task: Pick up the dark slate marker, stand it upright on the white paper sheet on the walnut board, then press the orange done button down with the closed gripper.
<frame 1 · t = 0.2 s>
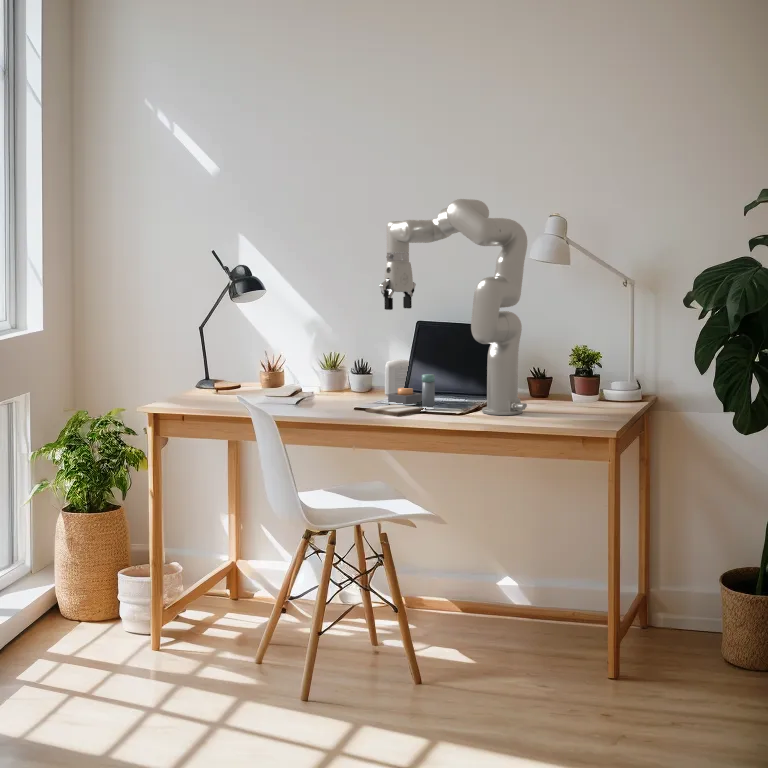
hand: (398, 308, 337), 31 cm above the table, tool pointing down, fingers open, 9 cm apart
marker: (428, 408, 319), on the table
photo printer: (398, 394, 353), on the table
button housing: (405, 404, 329), on the table
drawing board: (395, 411, 314), on the table
done button: (405, 392, 328), point 4 cm above the table, slide at 0.0 cm
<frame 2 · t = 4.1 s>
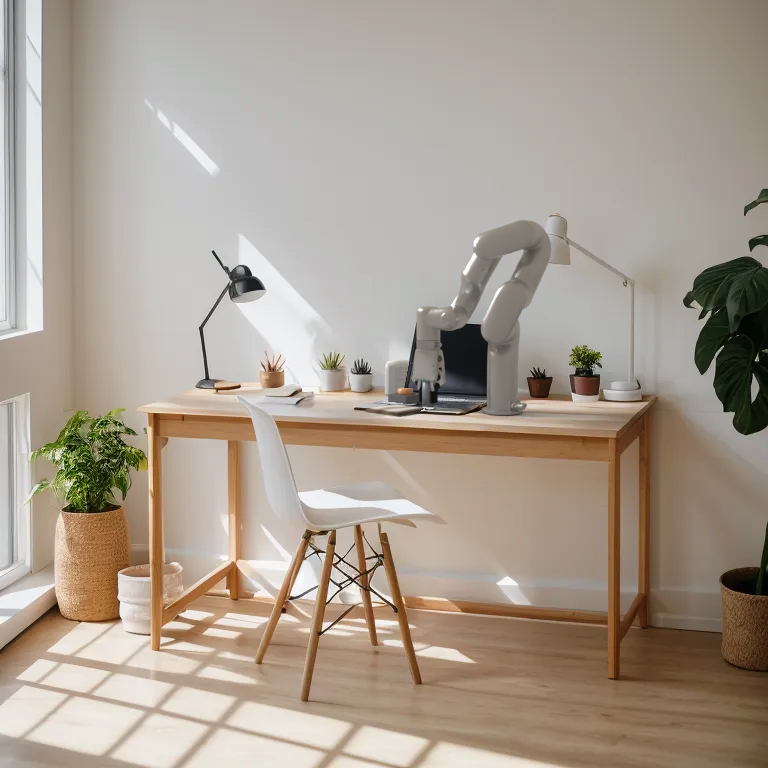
hand: (428, 401, 319), 2 cm above the table, tool pointing down, fingers closed on marker, 4 cm apart
marker: (428, 408, 319), on the table, touching gripper
everything else where it was.
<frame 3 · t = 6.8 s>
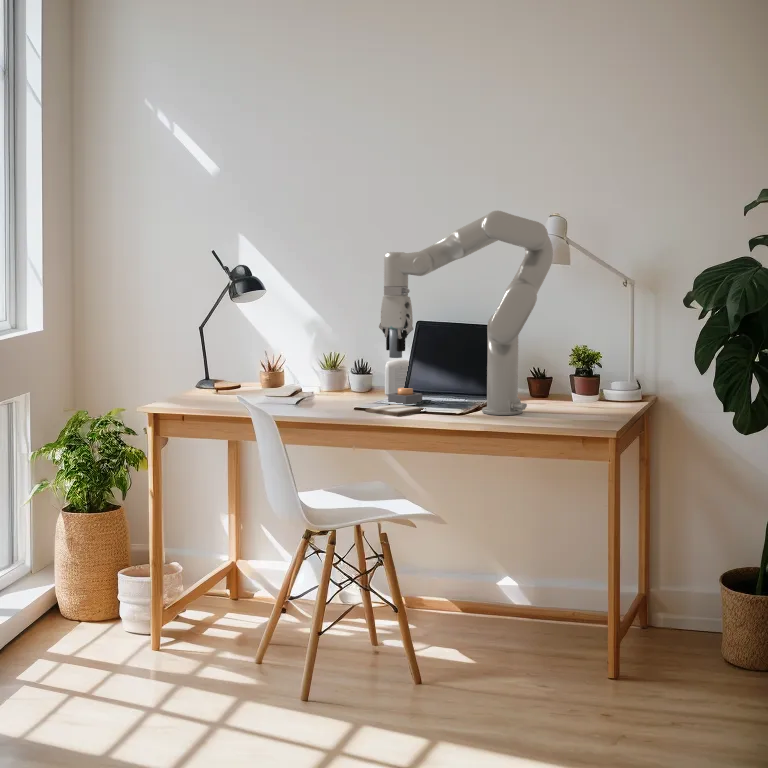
hand: (395, 350, 312), 20 cm above the table, tool pointing down, fingers closed on marker, 4 cm apart
marker: (395, 357, 312), point 17 cm above the table, touching gripper
everything else where it was.
when the fingers open (5 cm above the table, at t = 9.9 s): marker drops 1 cm, resting on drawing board.
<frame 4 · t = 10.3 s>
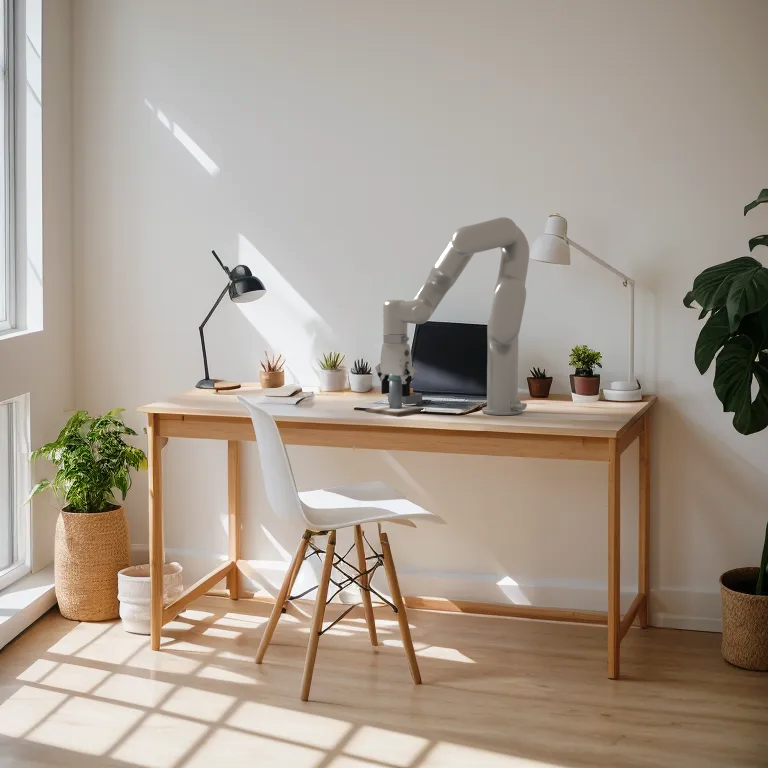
hand: (395, 394, 313), 5 cm above the table, tool pointing down, fingers open, 8 cm apart
marker: (395, 407, 314), point 1 cm above the table, touching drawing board
everything else where it was.
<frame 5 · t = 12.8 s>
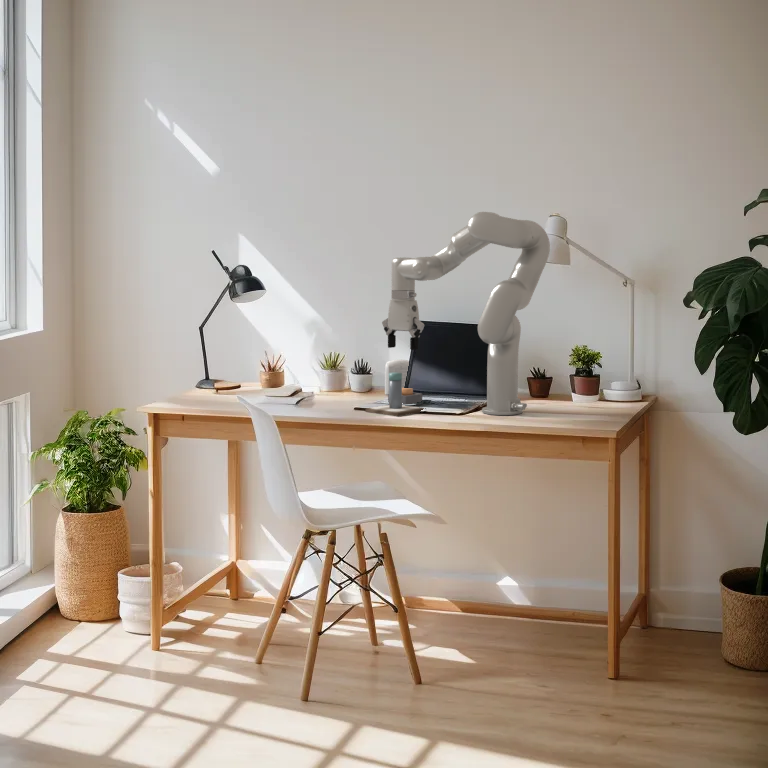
hand: (402, 348, 324), 19 cm above the table, tool pointing down, fingers open, 9 cm apart
nothing on the table moved.
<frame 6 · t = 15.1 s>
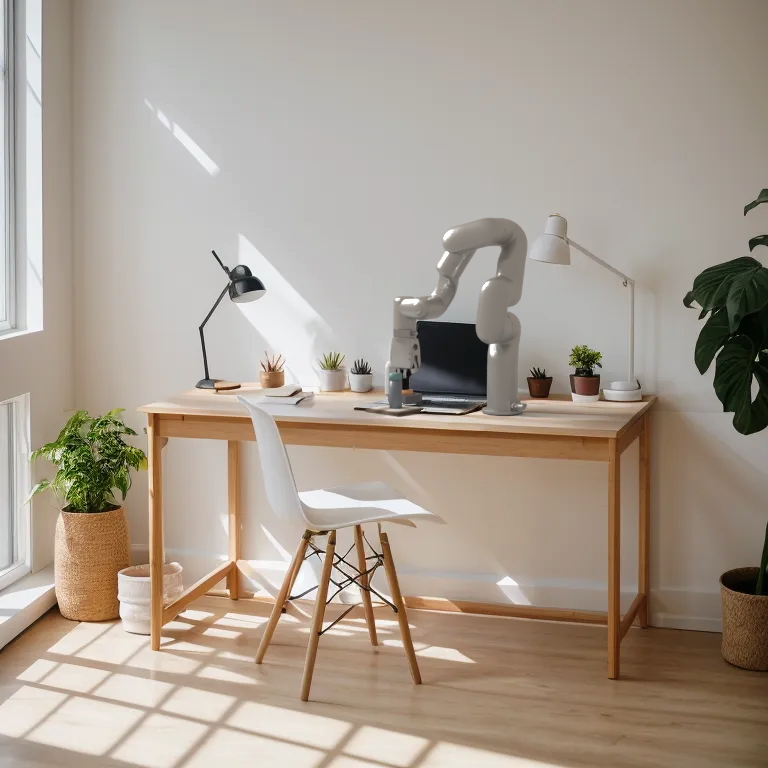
hand: (404, 389, 328), 5 cm above the table, tool pointing down, fingers closed
done button: (405, 393, 328), point 4 cm above the table, slide at 0.3 cm, touching gripper
everything else where it was.
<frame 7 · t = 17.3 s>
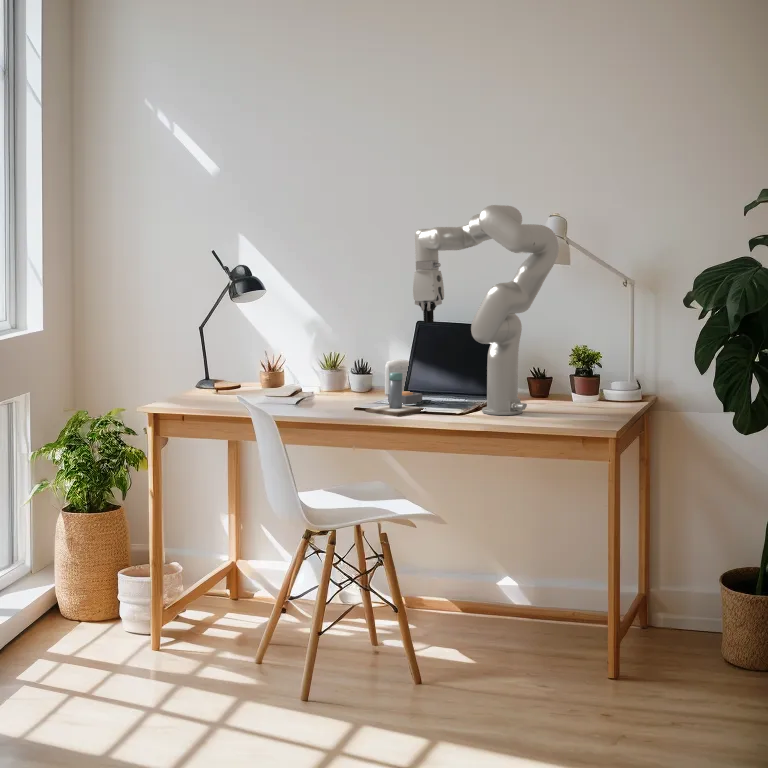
hand: (428, 322, 329), 27 cm above the table, tool pointing down, fingers closed
done button: (405, 396, 328), point 3 cm above the table, slide at 1.2 cm
everything else where it was.
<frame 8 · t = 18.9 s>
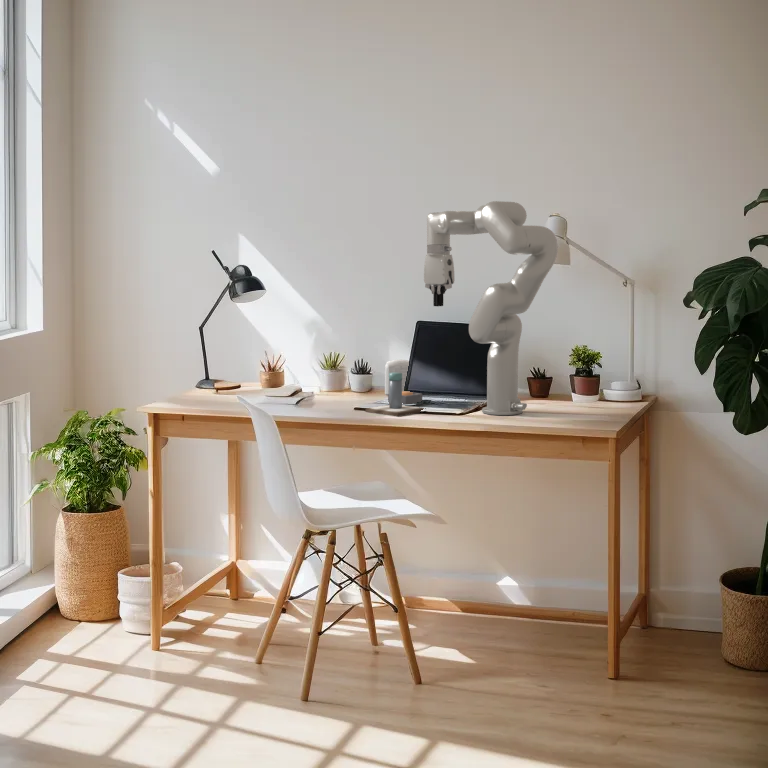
hand: (438, 306, 330), 32 cm above the table, tool pointing down, fingers closed
nothing on the table moved.
at the end: marker inside the target area on the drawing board (0.0 cm from its centre), point 1.2 cm above the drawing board's base; marker tilted 1°; done button slide at 1.2 cm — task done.
